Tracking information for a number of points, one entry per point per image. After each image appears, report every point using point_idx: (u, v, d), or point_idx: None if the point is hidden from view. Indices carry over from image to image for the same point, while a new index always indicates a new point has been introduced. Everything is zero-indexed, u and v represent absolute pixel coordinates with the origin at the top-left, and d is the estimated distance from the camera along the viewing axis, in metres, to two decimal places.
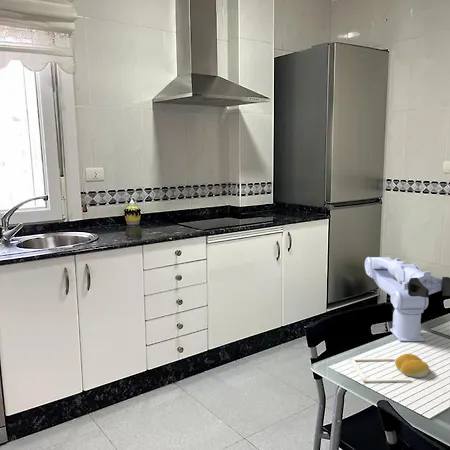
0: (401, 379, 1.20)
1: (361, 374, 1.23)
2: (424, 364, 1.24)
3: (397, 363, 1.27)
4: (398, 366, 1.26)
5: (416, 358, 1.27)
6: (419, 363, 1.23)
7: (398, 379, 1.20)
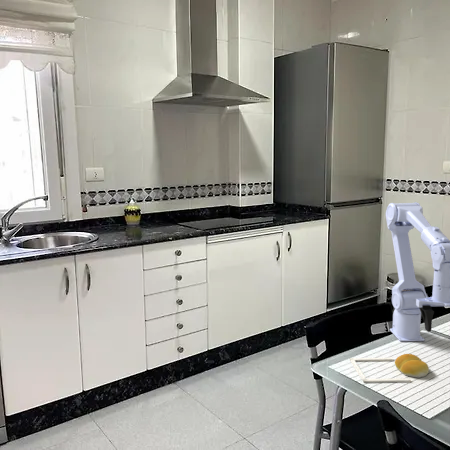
0: (401, 379, 1.20)
1: (361, 374, 1.23)
2: (424, 364, 1.24)
3: (397, 363, 1.27)
4: (398, 366, 1.26)
5: (415, 358, 1.27)
6: (419, 363, 1.23)
7: (398, 379, 1.20)
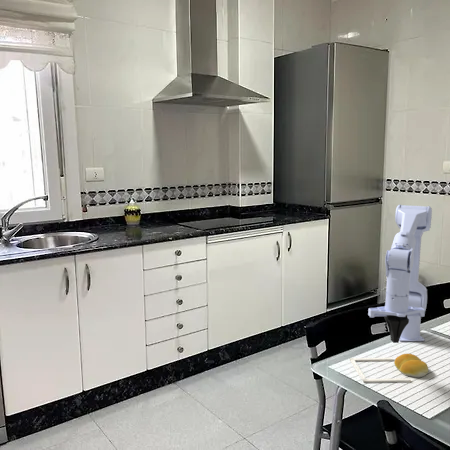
0: (401, 379, 1.20)
1: (361, 374, 1.23)
2: (423, 363, 1.24)
3: (396, 363, 1.27)
4: (397, 366, 1.26)
5: (415, 357, 1.27)
6: (418, 363, 1.23)
7: (398, 379, 1.20)
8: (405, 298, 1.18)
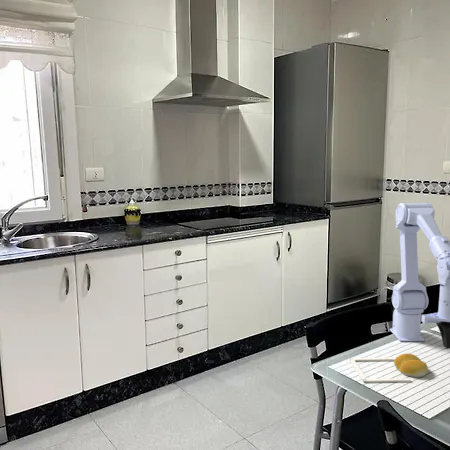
0: (401, 379, 1.20)
1: (361, 374, 1.23)
2: (423, 363, 1.24)
3: (396, 363, 1.27)
4: (397, 366, 1.26)
5: (415, 357, 1.27)
6: (418, 363, 1.24)
7: (398, 379, 1.20)
8: None
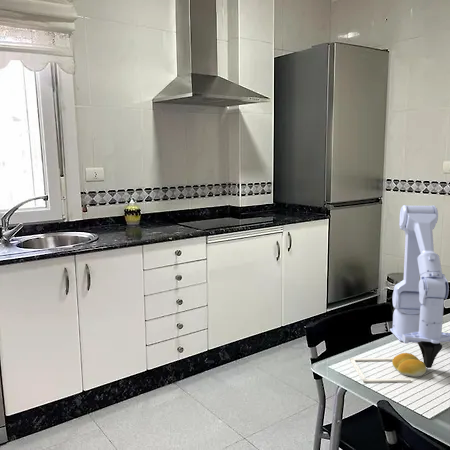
0: (401, 379, 1.20)
1: (361, 374, 1.23)
2: (421, 363, 1.24)
3: (394, 362, 1.27)
4: (395, 365, 1.26)
5: (413, 357, 1.27)
6: (416, 362, 1.24)
7: (398, 379, 1.20)
8: (439, 325, 1.22)
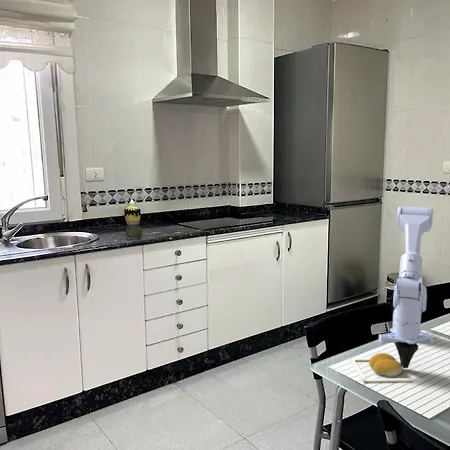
0: (401, 379, 1.20)
1: (361, 374, 1.23)
2: (397, 363, 1.24)
3: (370, 362, 1.27)
4: (371, 365, 1.27)
5: (389, 357, 1.27)
6: (391, 362, 1.24)
7: (398, 379, 1.20)
8: (415, 325, 1.22)
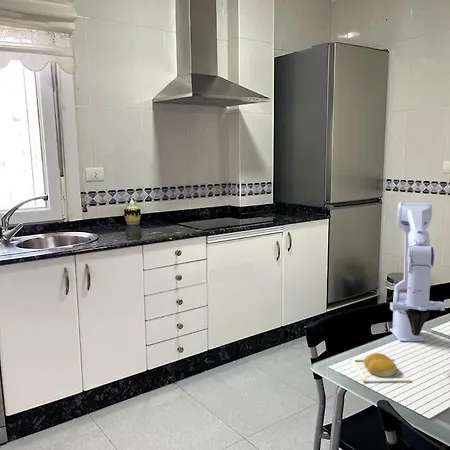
0: (401, 379, 1.20)
1: (361, 374, 1.23)
2: (391, 363, 1.24)
3: (365, 362, 1.28)
4: (366, 365, 1.27)
5: (384, 357, 1.27)
6: (386, 362, 1.24)
7: (398, 379, 1.20)
8: (426, 292, 1.23)
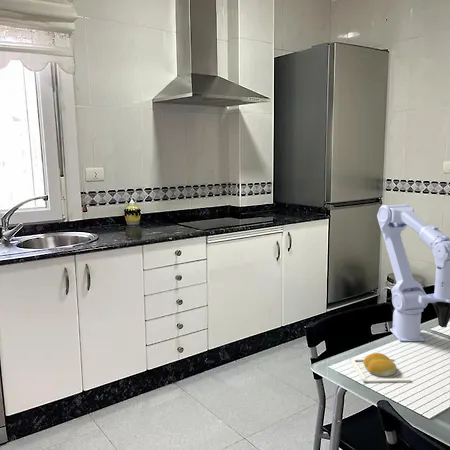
0: (401, 379, 1.20)
1: (361, 374, 1.23)
2: (391, 363, 1.24)
3: (365, 362, 1.28)
4: (365, 365, 1.27)
5: (384, 357, 1.27)
6: (385, 362, 1.24)
7: (398, 379, 1.20)
8: None
